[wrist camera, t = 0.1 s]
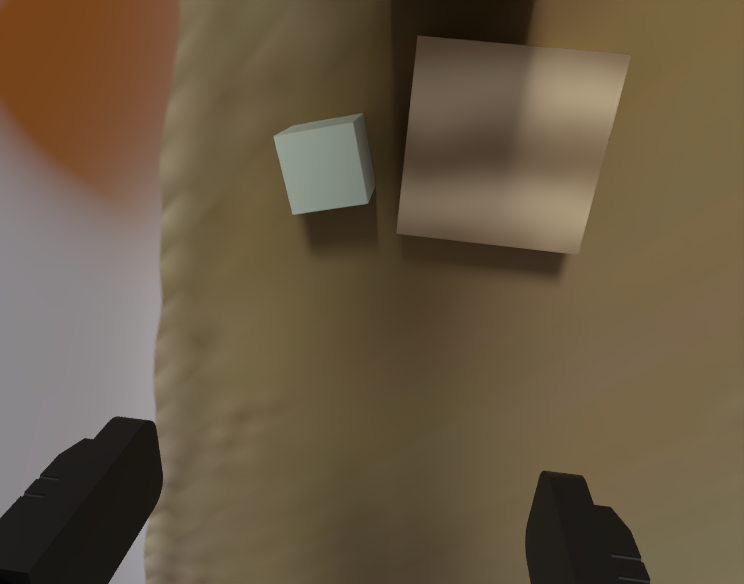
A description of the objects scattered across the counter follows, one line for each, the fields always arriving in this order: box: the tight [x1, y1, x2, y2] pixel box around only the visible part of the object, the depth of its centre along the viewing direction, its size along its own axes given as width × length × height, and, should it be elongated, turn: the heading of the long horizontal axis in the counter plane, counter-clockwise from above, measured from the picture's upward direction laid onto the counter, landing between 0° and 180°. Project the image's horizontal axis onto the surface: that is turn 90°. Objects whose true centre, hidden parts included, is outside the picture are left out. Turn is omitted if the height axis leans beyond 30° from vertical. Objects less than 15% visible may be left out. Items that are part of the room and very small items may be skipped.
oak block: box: [396, 36, 631, 255], centre depth 34 cm, size 12×12×4 cm
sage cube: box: [273, 113, 376, 215], centre depth 35 cm, size 5×5×5 cm
